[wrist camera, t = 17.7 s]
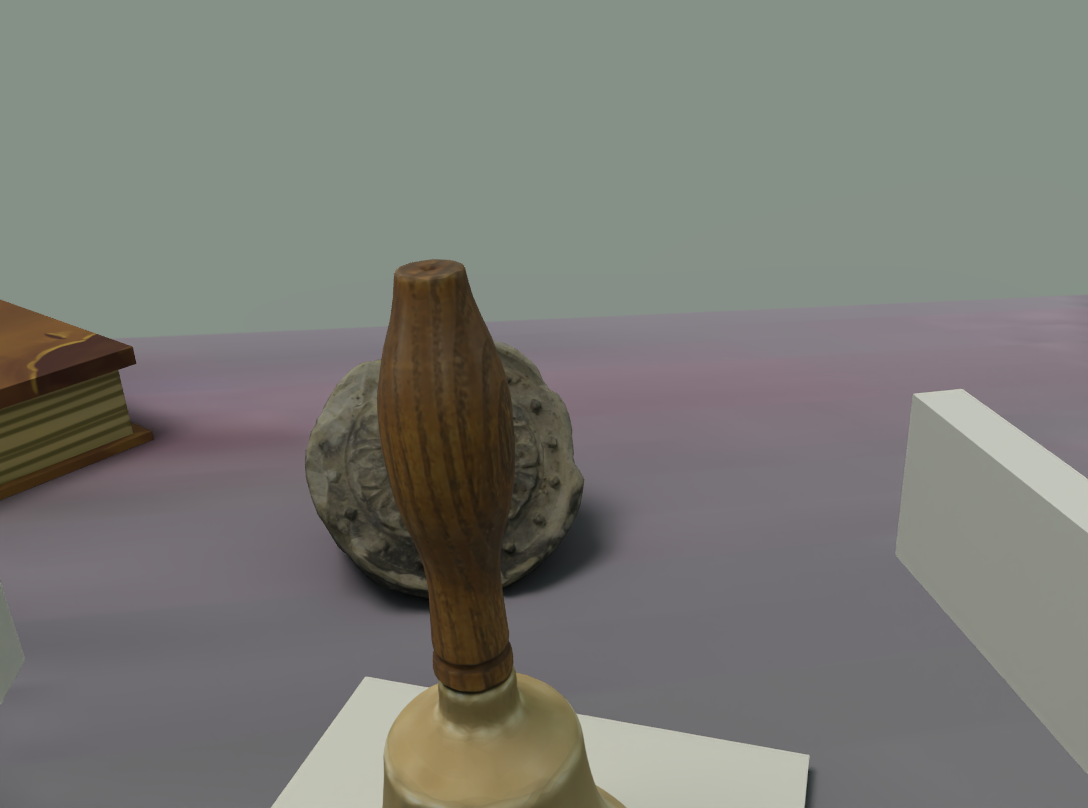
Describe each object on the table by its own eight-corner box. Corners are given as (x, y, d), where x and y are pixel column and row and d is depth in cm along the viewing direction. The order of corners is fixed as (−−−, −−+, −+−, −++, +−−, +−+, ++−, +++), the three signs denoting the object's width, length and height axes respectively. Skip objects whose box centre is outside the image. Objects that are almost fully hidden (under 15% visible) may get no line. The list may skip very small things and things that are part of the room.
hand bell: (352, 1137, 19) (205, 382, 13) (310, 824, 27) (202, 241, 20) (734, 1001, 22) (767, 299, 15) (599, 746, 29) (583, 198, 23)
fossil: (398, 648, 34) (296, 369, 33) (320, 638, 41) (236, 413, 41) (641, 530, 39) (554, 291, 39) (531, 541, 47) (458, 343, 47)
